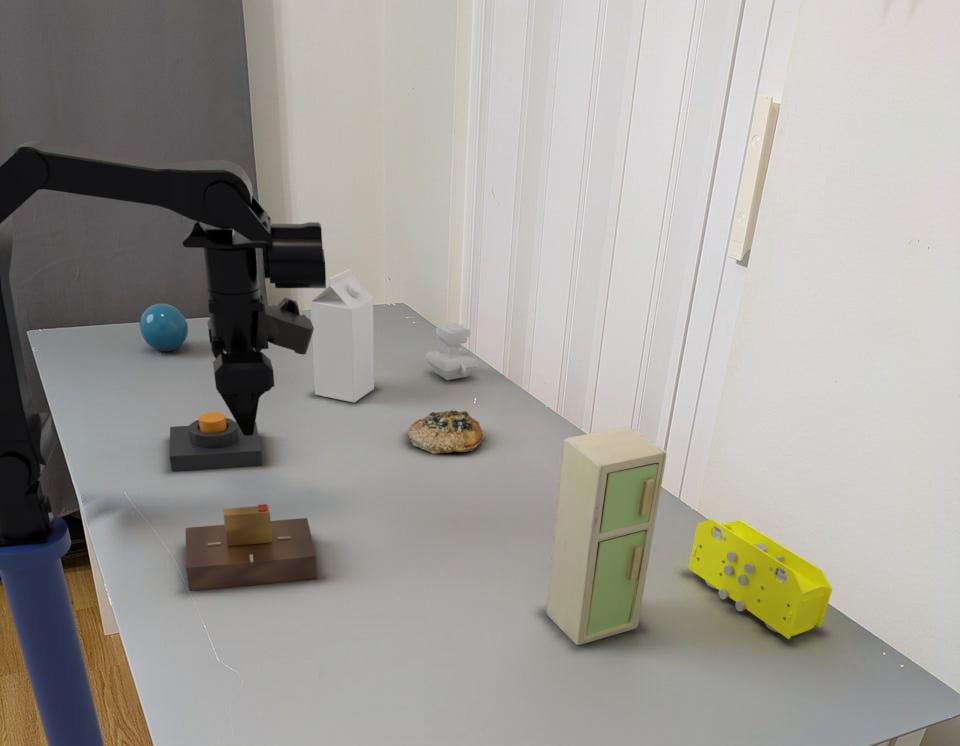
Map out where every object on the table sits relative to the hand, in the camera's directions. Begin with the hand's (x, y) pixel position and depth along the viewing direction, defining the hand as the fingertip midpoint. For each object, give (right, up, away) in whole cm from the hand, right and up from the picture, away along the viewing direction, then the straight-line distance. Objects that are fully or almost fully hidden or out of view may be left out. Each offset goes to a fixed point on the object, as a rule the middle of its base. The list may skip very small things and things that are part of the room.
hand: (245, 419), depth 114 cm
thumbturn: (+2, -15, -6) cm, 16 cm away
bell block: (-9, -1, +20) cm, 22 cm away
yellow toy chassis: (+59, -22, -6) cm, 63 cm away
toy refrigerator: (+40, -25, -11) cm, 49 cm away
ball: (-27, +23, +53) cm, 64 cm away
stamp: (+23, +17, +49) cm, 57 cm away
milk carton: (+6, +12, +41) cm, 43 cm away
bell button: (-9, +2, +18) cm, 20 cm away
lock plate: (+2, -18, -4) cm, 18 cm away
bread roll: (+23, +2, +27) cm, 35 cm away
